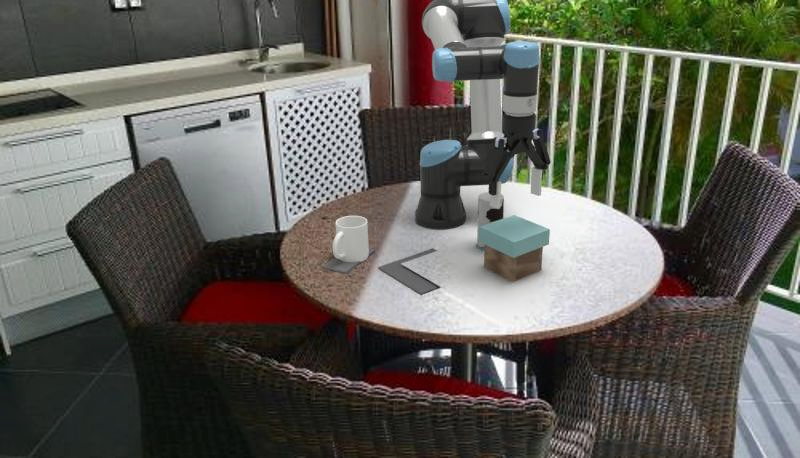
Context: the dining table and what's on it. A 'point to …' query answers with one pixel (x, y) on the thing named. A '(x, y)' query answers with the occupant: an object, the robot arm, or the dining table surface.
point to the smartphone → (343, 264)
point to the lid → (514, 236)
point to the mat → (410, 274)
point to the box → (512, 263)
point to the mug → (351, 239)
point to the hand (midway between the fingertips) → (515, 200)
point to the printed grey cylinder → (487, 213)
